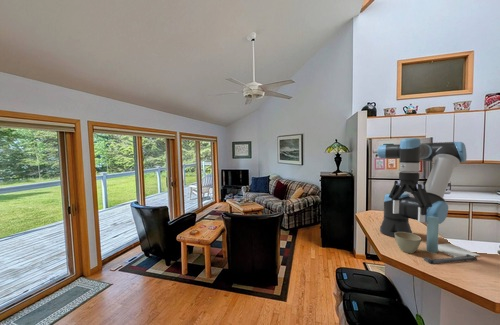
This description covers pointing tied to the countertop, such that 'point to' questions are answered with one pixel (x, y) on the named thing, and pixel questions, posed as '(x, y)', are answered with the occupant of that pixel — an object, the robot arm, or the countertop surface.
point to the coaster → (454, 250)
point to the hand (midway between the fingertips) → (407, 217)
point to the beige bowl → (407, 241)
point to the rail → (450, 259)
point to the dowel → (432, 234)
